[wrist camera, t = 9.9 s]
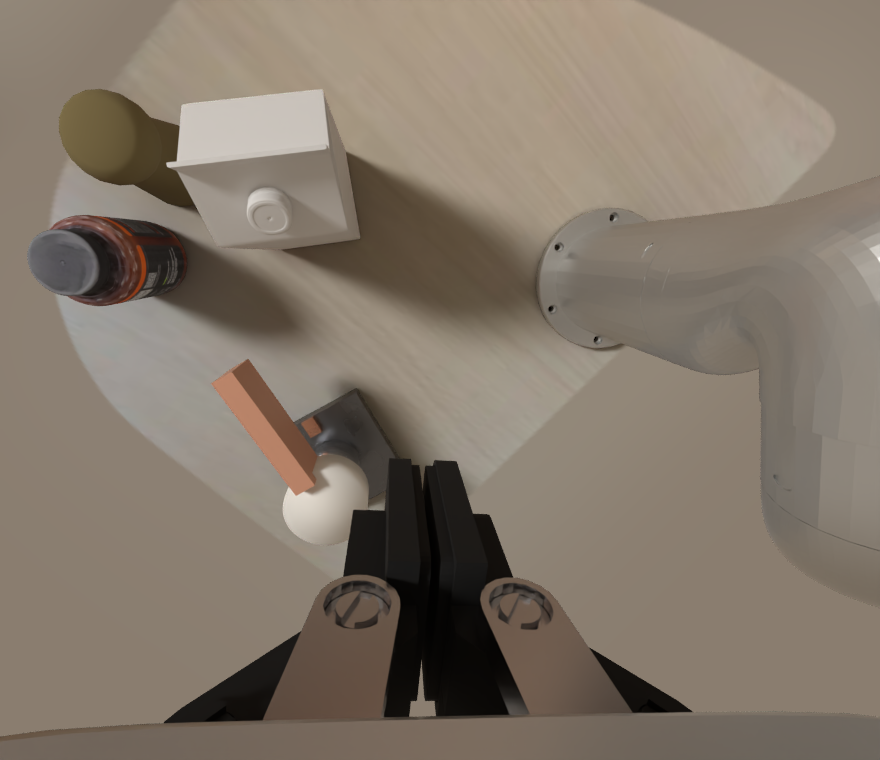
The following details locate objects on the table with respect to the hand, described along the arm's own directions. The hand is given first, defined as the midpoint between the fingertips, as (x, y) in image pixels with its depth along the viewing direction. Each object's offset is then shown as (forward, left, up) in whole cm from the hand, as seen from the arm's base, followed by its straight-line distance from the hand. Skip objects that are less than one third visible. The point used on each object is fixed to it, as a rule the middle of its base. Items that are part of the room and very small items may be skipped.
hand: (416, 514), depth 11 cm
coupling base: (+11, +9, -33) cm, 35 cm away
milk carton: (+1, -12, -33) cm, 35 cm away
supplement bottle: (+15, -14, -33) cm, 39 cm away
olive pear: (+9, -19, -33) cm, 39 cm away
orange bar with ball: (+11, +4, -26) cm, 28 cm away
